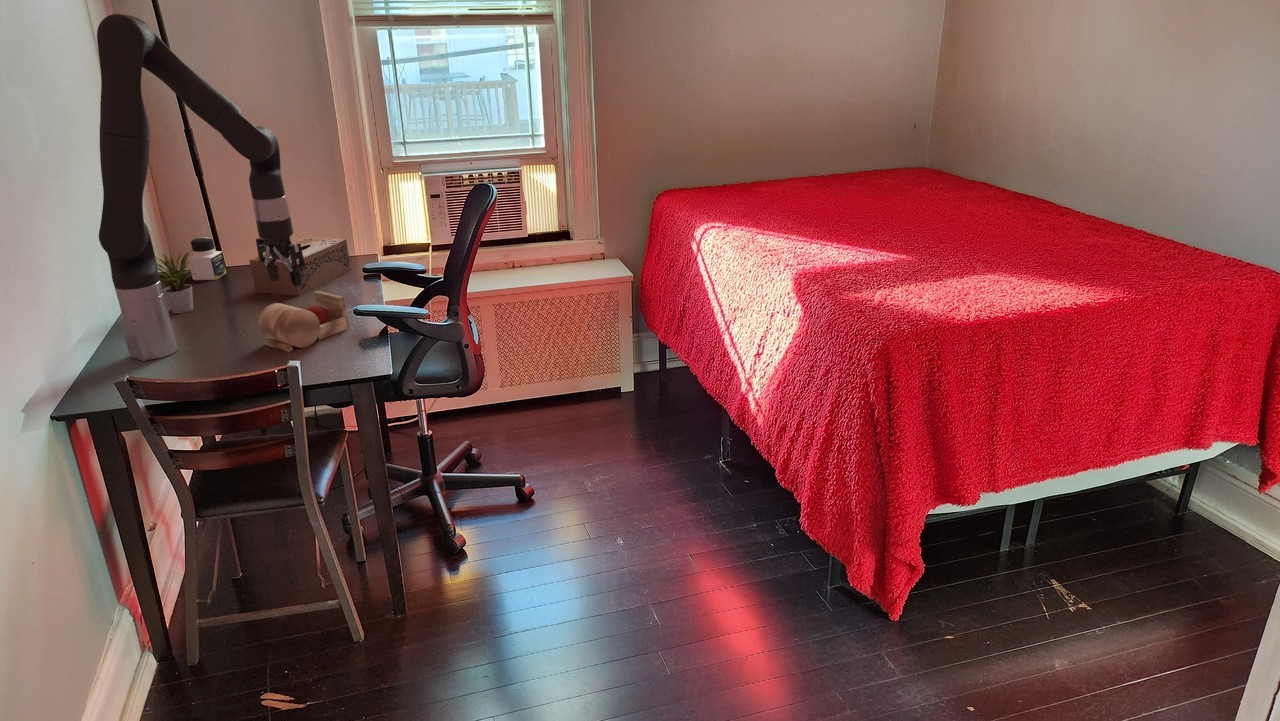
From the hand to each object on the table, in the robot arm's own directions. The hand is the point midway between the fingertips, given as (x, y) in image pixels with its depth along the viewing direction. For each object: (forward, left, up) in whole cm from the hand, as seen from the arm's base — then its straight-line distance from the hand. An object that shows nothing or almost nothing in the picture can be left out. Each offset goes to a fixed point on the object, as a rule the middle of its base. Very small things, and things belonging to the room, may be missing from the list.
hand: (285, 283), depth 201 cm
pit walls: (+6, 0, -14) cm, 16 cm away
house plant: (-2, +47, -14) cm, 49 cm away
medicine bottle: (+20, +69, -14) cm, 73 cm away
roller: (-2, -2, -14) cm, 14 cm away
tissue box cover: (+32, +39, -15) cm, 52 cm away
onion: (+2, 0, -11) cm, 11 cm away
